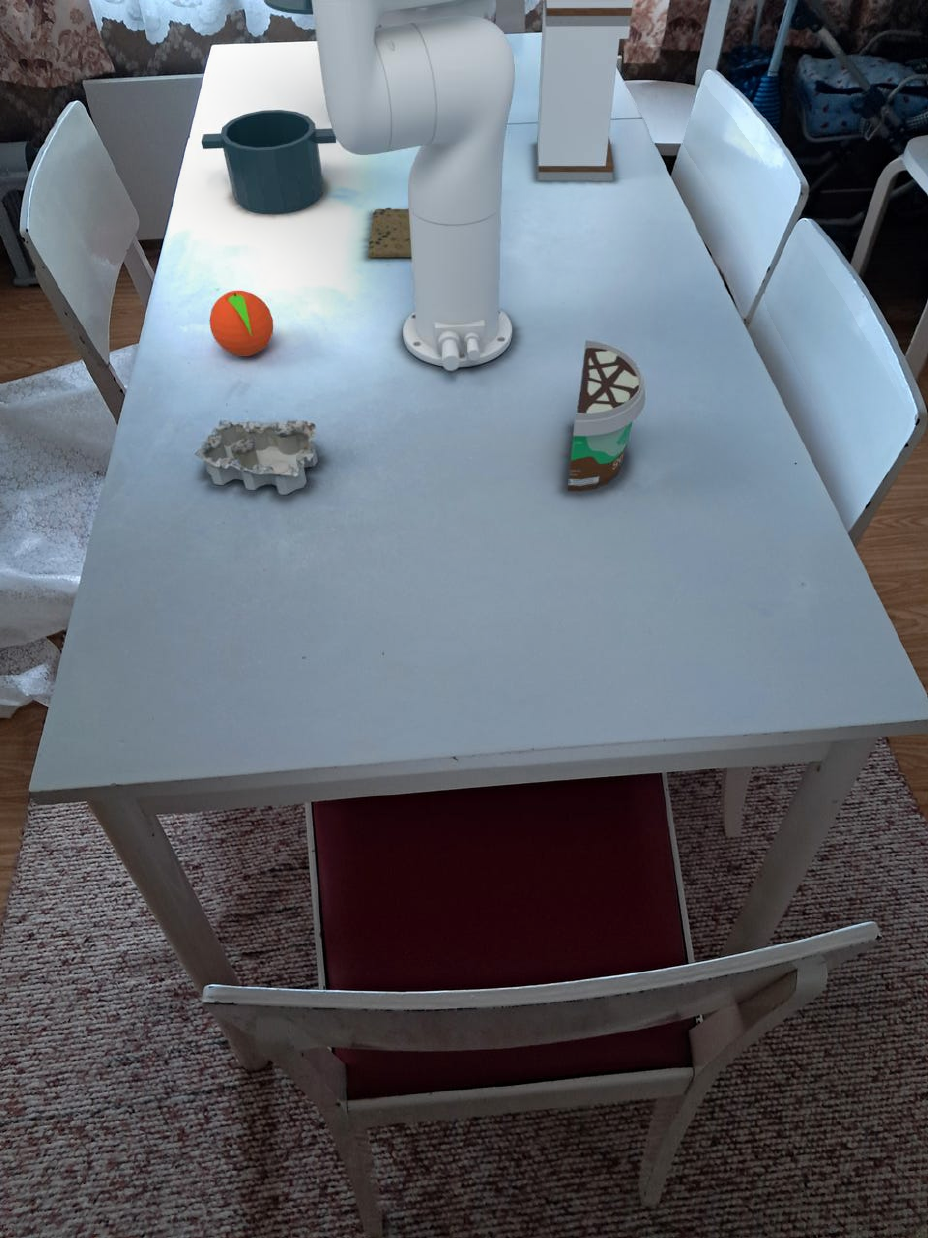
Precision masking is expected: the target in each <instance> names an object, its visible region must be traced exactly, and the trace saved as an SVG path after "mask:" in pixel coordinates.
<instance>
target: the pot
mask: <svg viewBox="0 0 928 1238" xmlns="http://www.w3.org/2000/svg"><path fill="white" fill-rule="evenodd" d="M321 144H323V145H324V144H325V145H327V144H337V138H336V137H335V135H334V132H333V130H332V127H331V128H330V127H329V128H316V123H315V122H314V120H313V119H312V118H310V116H308V115H305V114H304V113H300V112H297V111H291V110H284V109H269V110H268V109H267V110H259V111H254V112H249V113H245V114H242V115H240V116H237V117H235V118H233V119H230V120H229V121H228V122H227V123H225V124H224V125H223V126H222V127H221V130H220V133H203V134H202V138H201V146H202V149H203V150H211V149H212V150H213V149H215V150H216V149H223V154H224V159H225V163H226V167H227V172H228V177H229V181H230V184H231V186H230V187H231V189H232V195H233V197H234V199H235V202H236V203H237V204H238V206H240V207H241V208H243V209H244V210H247V211H250V212H253V213H257V214H258V213H259V214H263V215H280V214H282V215H283V214H288V213H294V212H297V211H301V210H303V209H306V208H308V207H310V206H312V205H313V204H315V203H317V202H318V201H319V200H320V199H321V197H323V194H324V178H323V177H324V176H323V171H322V162H321V155H320V149H319V145H321Z"/></svg>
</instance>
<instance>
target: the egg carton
mask: <svg viewBox="0 0 928 1238" xmlns="http://www.w3.org/2000/svg"><path fill="white" fill-rule="evenodd" d="M316 429H317V427H316V424H315V423H313V422H308V421H306V420H298V419H293V420H287V421H286V423H283V422H279V421H273V423H272V422H262V421H259V420H255V421H245V422H240V421H239V422H236V423H235V424H234V423H233V422H232V421H230V420H227V419H224V420H222V419H220V421H219V425H218V427H216V426H215V427H213V428H212V430H211V434H209V435H207V438H206V439H205V440H204V441H203V442H202V443H201V447H200V448H199V449H198V450H196V451H195V452H194V456H196V457H198V458H199V459H201V461H203V463H204V467H205V469H206V470H205V471H206V473H207V474H208V475H210V476H211V480H212V481H213V484H214V485H218V486H224V485H225V484H226V483H229V482H231V481H232V480H241V481H243V483H244V487H245V489H246V490H248V491H256V490H257V489H259V488H260V487H263V486H265V485H273V486H275V487H276V489H277V492H278V494H279V495H281V496H285V495H288V494H290V493H292V492H294V491H297V490H299V489H304V487H305V485H307V482H308V481H307V477H306V472H305V469H307V468H309V467H315V466H316V464H317V463H318V459H319V458H318V455H317V449H316V445H315V442H314V441H313V438H314V435H315V432H316Z"/></svg>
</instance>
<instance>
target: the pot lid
mask: <svg viewBox="0 0 928 1238" xmlns="http://www.w3.org/2000/svg"><path fill="white" fill-rule="evenodd" d="M263 2H264V4H265V5H266V6H267V7H268V8H270V9H272V10H274V11H278V12H282V13H287V14H293V15H304V16H305V15H307V16H308V15H310V16H311V15H313V16H314V14H313V7H312V0H263Z"/></svg>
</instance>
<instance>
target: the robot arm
mask: <svg viewBox="0 0 928 1238" xmlns="http://www.w3.org/2000/svg"><path fill="white" fill-rule="evenodd" d="M450 1H455V0H312V7H313V14H314V15H313V21H314V29H315V35H316V44H317V51H318V59H319V66H320V74H321V75H320V76H321V82H322V88H323V94H324V95H323V96H324V102H325V106H326V112H327V116H328V119H329V124H330V127H331V128H332V130H333V132H334V135H335V137H336V141H337V142H338V143H339V145H340V146H341V147H342V148H343V149H344V150H346V151H347V152H349V153H351V154H354V155H358V156H370V155H371V156H372V155H377V154H385V153H390V152H395V151H401V150H407V149H410V148H417V147H419V148H418V151H417V153H416V155H415V157H414V160H413V163H412V165H411V167H410V171H409V175H408V182H407V202H408V203H407V206H408V209H409V223H410V238H411V254H412V257H411V265H412V266H411V267H412V268H411V269H412V270H411V271H412V281H413V282H412V283H413V299H414V301H413V302H414V311H413V312H412V313H411V314H410V315H408V316H407V318H406V320H405V321H404V324H403V327H402V334H403V335H402V337H403V338H402V339H403V341H404V345H405V347H406V348H407V350H408V351H409V352H410V353H411V354H412V355H413V356H415V357H416V358H418V359H419V360H421V361H423V362H425V363H428V364H431V365H434V366H437V367H443V369H444V370H447V371H449V372H454V371H456V370H457V369H459V368H469V367H474V366H479V365H482V364H485V363H488V362H490V361H492V360H494V359H497V358H498V357H500V355H502V354H503V353H504V352H505V351H506V350H507V349H508V348H509V346H510V344H511V342H512V338H513V325H512V322H511V319H510V318H509V316H508V315H507V314H506V313H505V312H504V311H503V310H502V309H500V277H501V272H500V271H501V270H500V269H501V226H502V225H501V223H502V221H501V220H502V219H501V218H502V198H503V197H502V194H503V191H502V189H503V168H504V167H503V164H504V152H505V143H506V135H507V131H508V130H507V129H508V125H509V119H510V113H511V108H512V104H513V99H514V90H515V81H516V80H515V79H516V67H515V66H516V65H515V58H514V53H513V49H512V46H511V43H510V41H509V39H508V37H507V36H506V34H505V33H504V31H503V29H501V28H500V27H499V26H498V25H496V23H495V24H494V23H492V22H491V21H489V20H487V19H484V18H480V17H476V16H450V17H443V18H436V19H430V20H424V21H417V22H411V23H408V24H403V25H397V26H390V27H384V28H378V29H375V28H376V23H377V20H378V17H379V16H380V15H381V14H382V13H384V12H388V11H394V10H400V9H407V8H413V7H420V6H427V5H433V4H439V3H445V2H450Z"/></svg>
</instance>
